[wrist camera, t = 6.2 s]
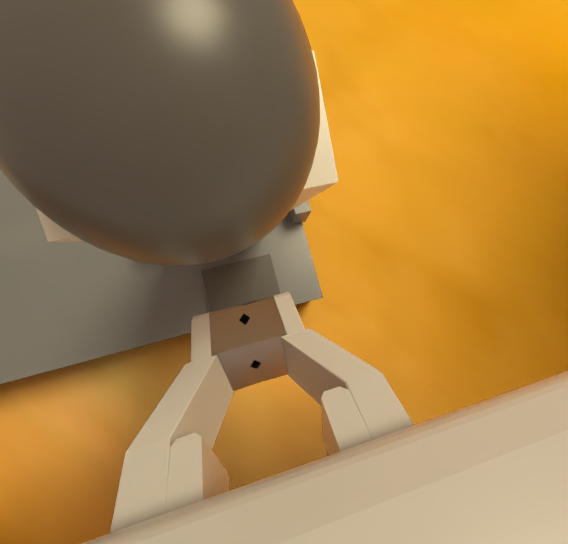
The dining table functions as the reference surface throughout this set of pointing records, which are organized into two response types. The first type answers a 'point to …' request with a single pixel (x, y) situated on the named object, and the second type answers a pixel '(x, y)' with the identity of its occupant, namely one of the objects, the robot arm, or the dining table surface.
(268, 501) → the robot arm
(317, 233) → the dining table surface
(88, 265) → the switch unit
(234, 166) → the lever
